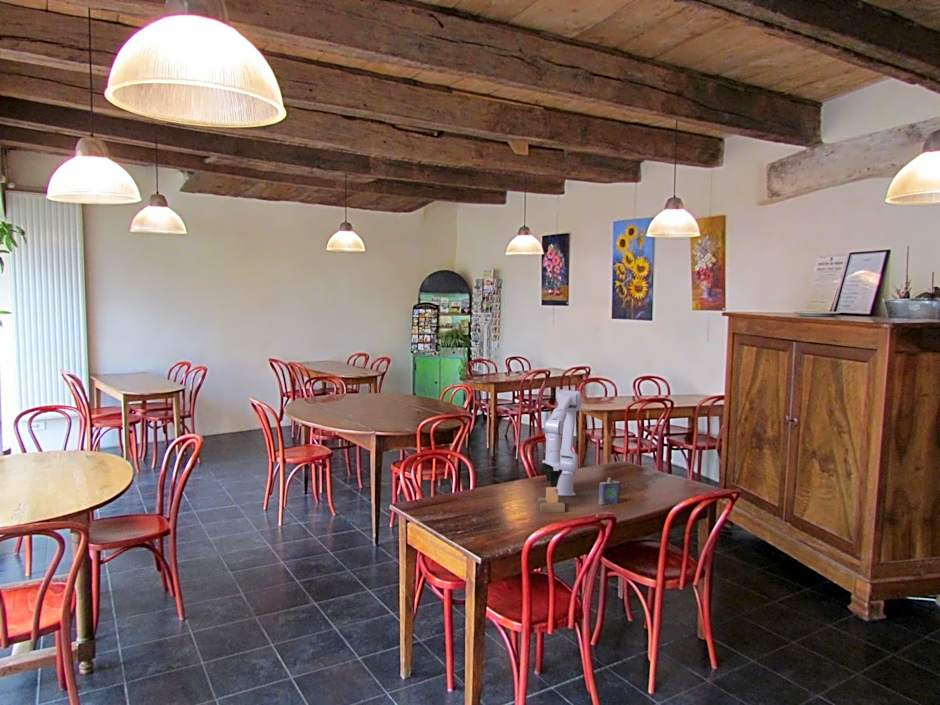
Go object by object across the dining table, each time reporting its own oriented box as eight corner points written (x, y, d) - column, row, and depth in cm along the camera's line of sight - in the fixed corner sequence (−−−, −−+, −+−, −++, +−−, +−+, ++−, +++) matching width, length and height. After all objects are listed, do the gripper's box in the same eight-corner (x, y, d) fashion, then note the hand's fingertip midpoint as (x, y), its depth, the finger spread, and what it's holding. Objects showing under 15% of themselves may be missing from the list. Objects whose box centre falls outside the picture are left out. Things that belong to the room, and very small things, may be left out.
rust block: (545, 499, 255) (546, 487, 255) (555, 499, 255) (556, 487, 255) (547, 502, 251) (548, 490, 251) (557, 502, 251) (558, 490, 251)
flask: (600, 505, 259) (601, 479, 258) (596, 503, 261) (597, 477, 260) (620, 504, 262) (621, 478, 261) (616, 501, 264) (617, 476, 263)
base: (537, 504, 258) (537, 497, 257) (559, 504, 258) (559, 497, 258) (541, 512, 249) (541, 504, 248) (564, 512, 249) (564, 504, 249)
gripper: (539, 445, 258) (538, 478, 259) (546, 454, 244) (545, 489, 245) (556, 445, 259) (555, 478, 260) (564, 454, 244) (563, 489, 246)
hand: (551, 483), depth 253 cm, fingers open, 7 cm apart
